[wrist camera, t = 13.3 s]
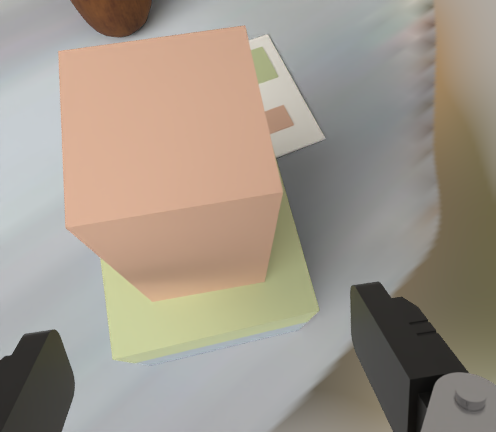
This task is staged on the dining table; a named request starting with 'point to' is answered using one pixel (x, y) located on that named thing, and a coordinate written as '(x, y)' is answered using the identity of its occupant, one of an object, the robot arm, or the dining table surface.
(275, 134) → the page
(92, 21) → the wooden figurine
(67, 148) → the brick
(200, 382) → the dining table surface
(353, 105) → the dining table surface
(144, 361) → the pedestal
